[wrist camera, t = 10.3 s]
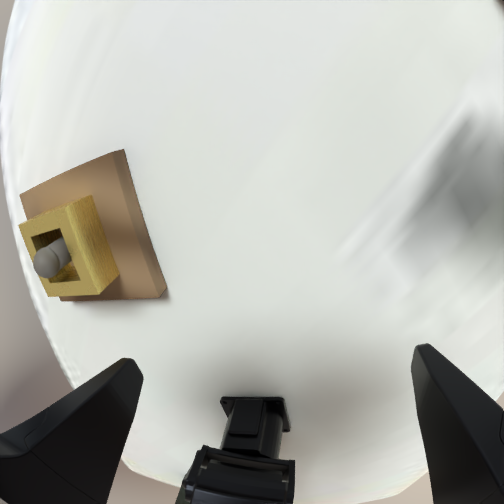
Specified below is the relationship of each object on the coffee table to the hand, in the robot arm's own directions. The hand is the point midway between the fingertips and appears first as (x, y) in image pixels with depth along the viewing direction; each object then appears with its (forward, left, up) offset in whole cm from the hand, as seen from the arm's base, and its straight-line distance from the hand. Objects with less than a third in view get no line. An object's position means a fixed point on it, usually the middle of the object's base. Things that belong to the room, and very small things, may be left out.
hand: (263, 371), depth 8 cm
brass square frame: (+2, +16, -10) cm, 19 cm away
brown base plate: (+2, +16, -12) cm, 20 cm away
